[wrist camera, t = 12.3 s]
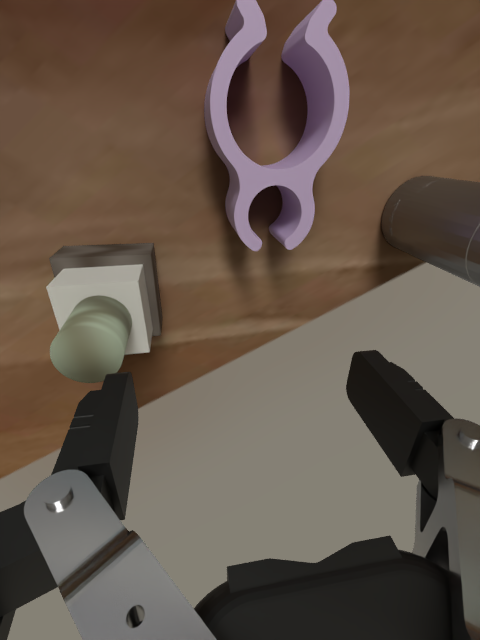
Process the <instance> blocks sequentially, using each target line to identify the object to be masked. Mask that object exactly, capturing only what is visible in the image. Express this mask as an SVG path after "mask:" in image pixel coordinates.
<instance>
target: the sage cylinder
mask: <svg viewBox="0 0 480 640" xmlns="http://www.w3.org/2000/svg"><path fill="white" fill-rule="evenodd" d="M131 327H132V318H131V315H130V313H129V311H128V309H127V308H126V307H125V306H124V305H123V304H122V303H121V302H119V301H118V300H116V299H114V298H111V297H107V296H100V295H97V296H91V297H87V298H85V299H83V300H81V301H80V302H79V303H78V304H77V305H76V306H75V308H74V309H73V311H72V312H71V314H70V315H69V317H68V318H67V320H66V322H65V323H64V325H63V326H62V328H61V329H60V331H59V332H58V334H57V335H56V337H55V338H54V340H53V342H52V344H51V347H50V357H51V360H52V363H53V364H54V366H55V367H56V369H57V370H58V371H59V372H60V373H62V374H63V375H64V376H66V377H68V378H70V379H72V380H75V381H79V382H84V383H96V382H101V381H104V379H105V376H106V375H107V374H112V373H117V372H118V370H119V369H120V367H121V365H122V361H123V358H124V354H125V350H126V346H127V343H128V339H129V335H130V331H131Z"/></svg>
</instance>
